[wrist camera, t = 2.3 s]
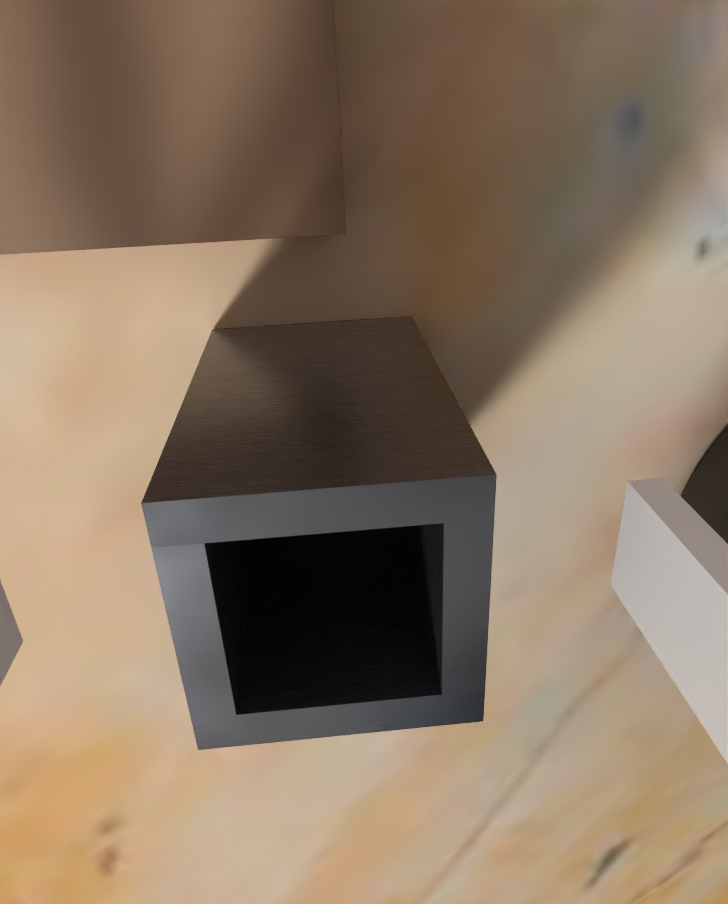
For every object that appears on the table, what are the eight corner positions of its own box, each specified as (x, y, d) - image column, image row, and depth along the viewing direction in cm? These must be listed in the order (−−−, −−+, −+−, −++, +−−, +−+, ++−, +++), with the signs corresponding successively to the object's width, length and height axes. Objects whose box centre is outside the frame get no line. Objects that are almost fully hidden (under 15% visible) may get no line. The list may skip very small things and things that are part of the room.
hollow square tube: (410, 316, 20) (496, 474, 11) (413, 486, 23) (483, 721, 14) (212, 329, 20) (141, 503, 11) (238, 500, 23) (198, 750, 14)
